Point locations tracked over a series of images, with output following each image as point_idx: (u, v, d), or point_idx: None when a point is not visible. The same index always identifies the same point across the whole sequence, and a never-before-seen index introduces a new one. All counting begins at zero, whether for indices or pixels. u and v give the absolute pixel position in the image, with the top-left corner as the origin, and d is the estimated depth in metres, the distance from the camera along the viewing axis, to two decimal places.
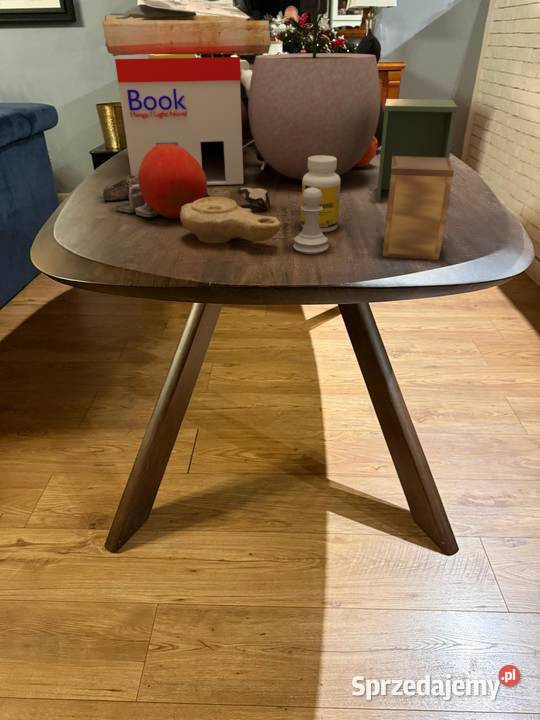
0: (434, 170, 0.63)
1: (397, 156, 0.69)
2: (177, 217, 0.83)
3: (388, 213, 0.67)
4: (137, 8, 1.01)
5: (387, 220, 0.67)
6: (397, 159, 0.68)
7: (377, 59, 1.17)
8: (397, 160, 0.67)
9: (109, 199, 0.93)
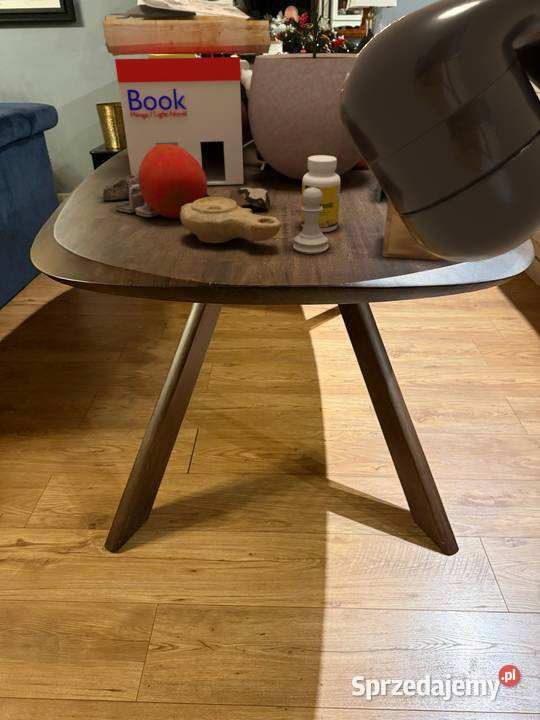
0: None
1: None
2: (177, 217, 0.83)
3: (388, 213, 0.67)
4: (137, 8, 1.01)
5: (387, 220, 0.67)
6: None
7: None
8: None
9: (109, 199, 0.93)
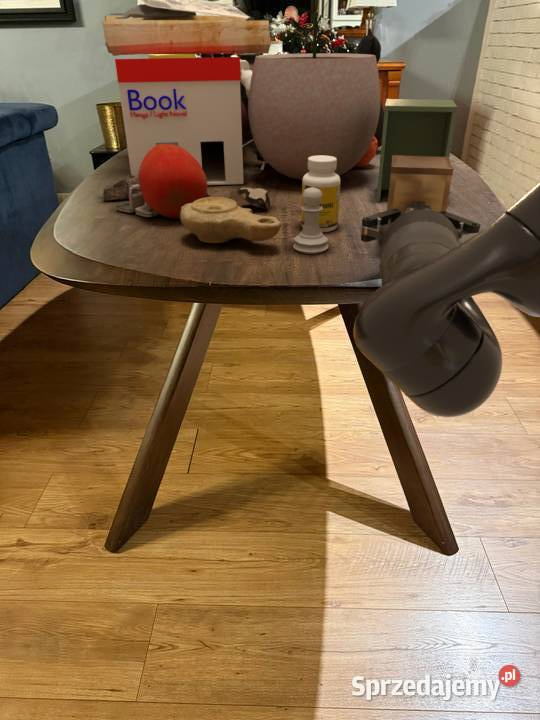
0: (434, 168, 0.63)
1: (397, 155, 0.70)
2: (177, 217, 0.83)
3: None
4: (137, 8, 1.01)
5: None
6: (397, 158, 0.68)
7: (377, 59, 1.17)
8: (397, 159, 0.68)
9: (109, 199, 0.93)
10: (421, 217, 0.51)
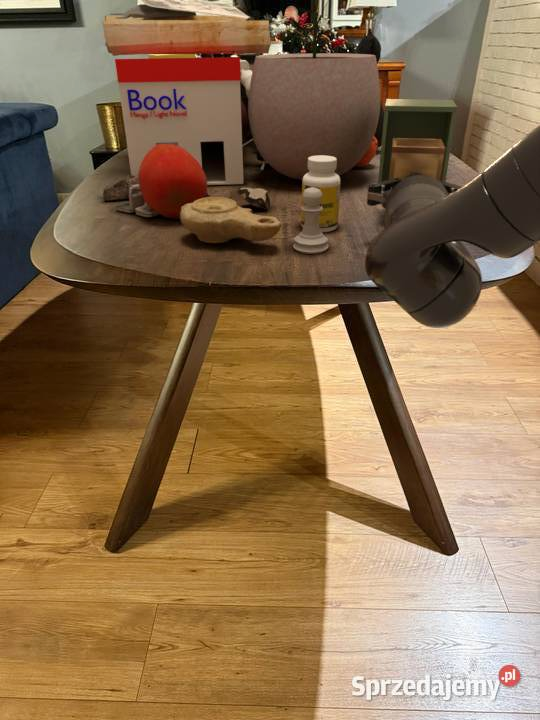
0: (428, 148, 0.74)
1: (397, 138, 0.81)
2: (177, 217, 0.83)
3: None
4: (137, 8, 1.01)
5: None
6: (397, 140, 0.79)
7: (377, 59, 1.17)
8: (397, 141, 0.78)
9: (109, 199, 0.93)
10: (418, 180, 0.62)
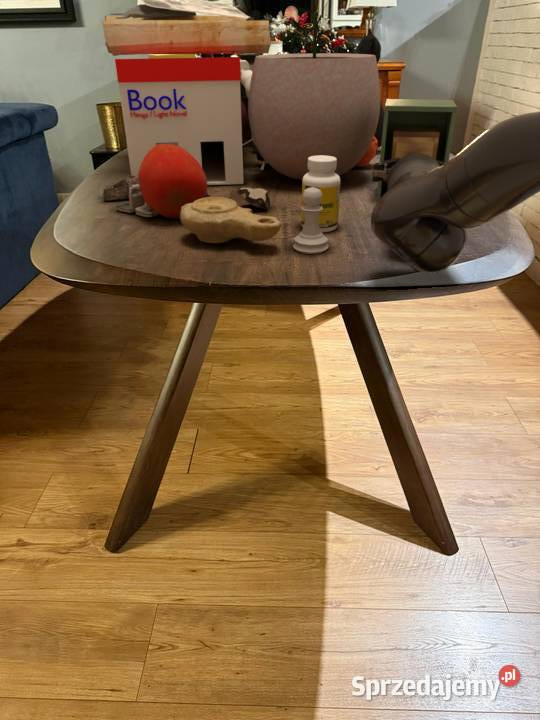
0: (425, 132, 0.85)
1: (397, 125, 0.91)
2: (177, 217, 0.83)
3: None
4: (137, 8, 1.01)
5: None
6: (397, 126, 0.90)
7: (377, 59, 1.17)
8: (397, 127, 0.89)
9: (109, 199, 0.93)
10: (416, 157, 0.73)
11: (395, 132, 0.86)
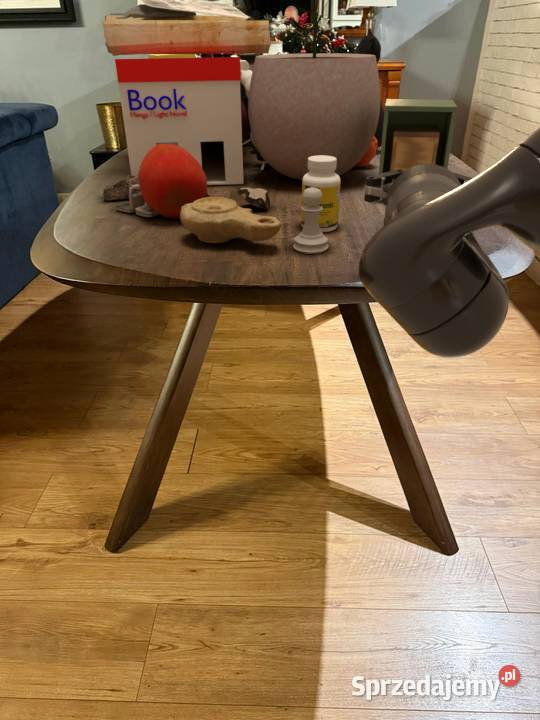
0: (425, 133, 0.85)
1: (397, 125, 0.91)
2: (177, 217, 0.83)
3: (391, 166, 0.89)
4: (137, 8, 1.01)
5: None
6: (397, 126, 0.90)
7: (377, 59, 1.17)
8: (398, 127, 0.89)
9: (109, 199, 0.93)
10: (426, 170, 0.50)
11: (395, 132, 0.86)
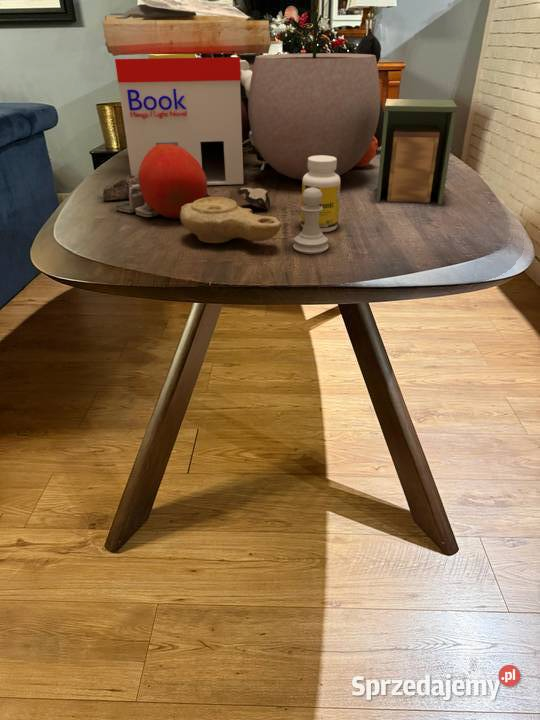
0: (425, 133, 0.85)
1: (397, 125, 0.91)
2: (177, 217, 0.83)
3: (391, 166, 0.89)
4: (137, 8, 1.01)
5: (390, 172, 0.89)
6: (397, 126, 0.90)
7: (377, 59, 1.17)
8: (398, 127, 0.89)
9: (109, 199, 0.93)
10: None
11: (395, 132, 0.86)
